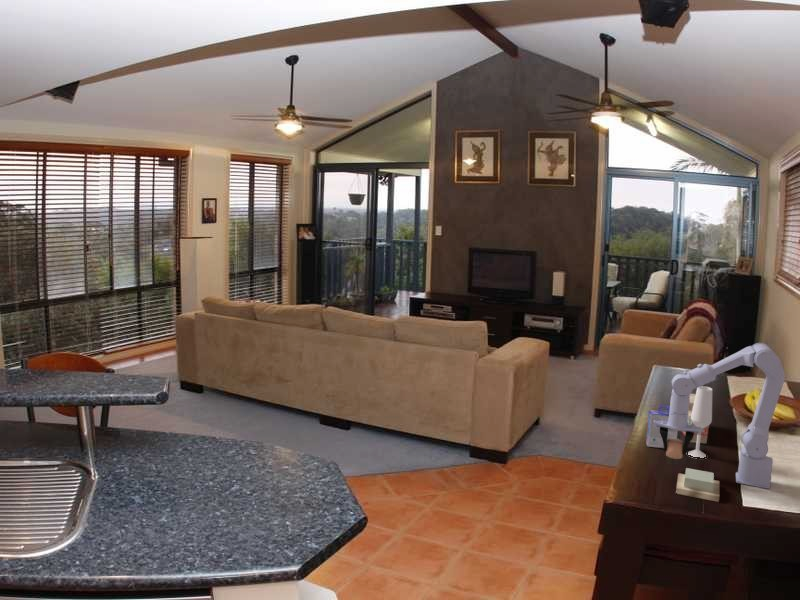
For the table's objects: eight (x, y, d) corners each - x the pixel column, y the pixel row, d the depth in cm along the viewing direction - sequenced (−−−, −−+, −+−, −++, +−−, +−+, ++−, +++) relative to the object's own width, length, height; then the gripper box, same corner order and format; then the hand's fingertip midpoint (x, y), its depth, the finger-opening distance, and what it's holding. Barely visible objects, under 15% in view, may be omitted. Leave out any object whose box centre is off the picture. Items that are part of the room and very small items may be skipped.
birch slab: (718, 488, 227) (719, 481, 226) (718, 504, 216) (719, 496, 215) (677, 480, 231) (678, 473, 231) (675, 495, 220) (676, 487, 220)
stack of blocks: (707, 444, 262) (711, 411, 259) (689, 442, 262) (692, 410, 260) (691, 423, 282) (695, 393, 280) (674, 422, 283) (678, 392, 281)
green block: (712, 482, 225) (713, 472, 224) (712, 492, 218) (713, 483, 217) (685, 476, 228) (686, 467, 228) (683, 486, 221) (684, 477, 220)
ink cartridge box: (674, 444, 260) (678, 405, 257) (676, 450, 254) (681, 410, 252) (645, 441, 262) (649, 402, 259) (647, 447, 256) (651, 407, 254)
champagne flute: (696, 450, 255) (704, 384, 251) (711, 457, 249) (720, 390, 245) (682, 452, 252) (689, 386, 248) (696, 459, 246) (705, 392, 242)
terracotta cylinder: (682, 454, 238) (684, 440, 237) (681, 460, 233) (683, 445, 232) (666, 451, 239) (667, 437, 239) (665, 457, 235) (666, 442, 234)
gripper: (703, 411, 234) (698, 451, 237) (656, 404, 240) (652, 443, 242) (703, 418, 228) (698, 459, 230) (654, 410, 234) (650, 450, 236)
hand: (674, 451), depth 236 cm, fingers closed on terracotta cylinder, 5 cm apart
